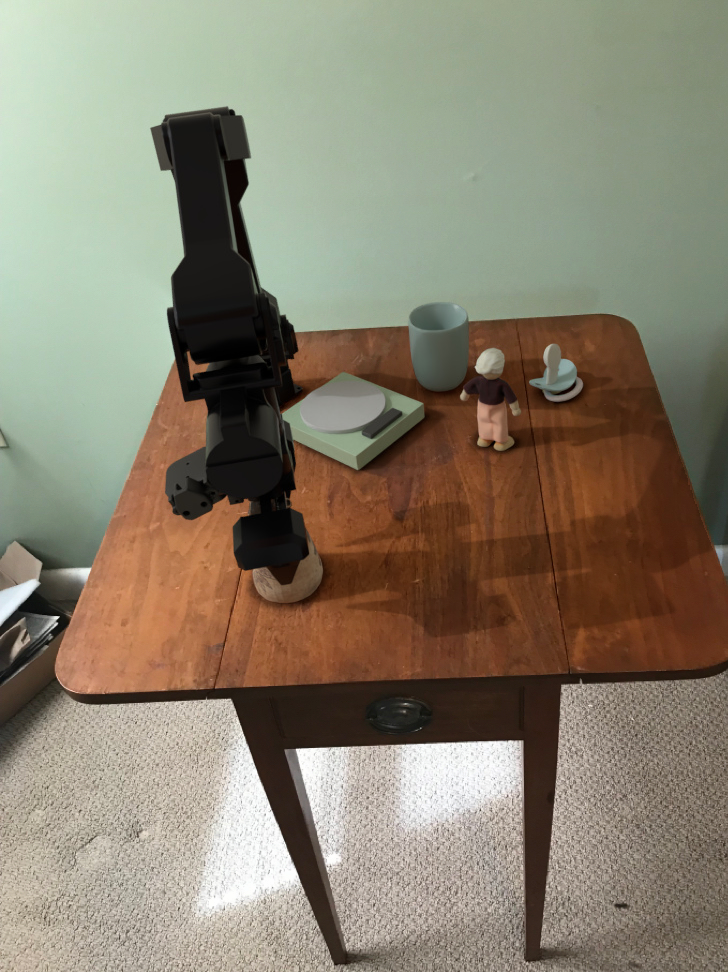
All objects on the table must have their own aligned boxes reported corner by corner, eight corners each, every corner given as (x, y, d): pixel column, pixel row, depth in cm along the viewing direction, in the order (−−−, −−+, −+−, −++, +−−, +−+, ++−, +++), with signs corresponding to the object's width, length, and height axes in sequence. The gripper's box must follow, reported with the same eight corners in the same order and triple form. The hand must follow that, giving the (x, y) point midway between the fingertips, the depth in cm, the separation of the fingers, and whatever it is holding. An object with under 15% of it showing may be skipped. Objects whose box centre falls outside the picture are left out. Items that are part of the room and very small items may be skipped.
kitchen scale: (278, 432, 99) (273, 414, 98) (345, 385, 106) (342, 367, 104) (358, 470, 93) (355, 452, 91) (424, 417, 99) (423, 399, 97)
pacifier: (592, 385, 102) (553, 370, 105) (598, 343, 97) (557, 329, 100) (561, 411, 98) (522, 395, 101) (566, 369, 94) (525, 353, 97)
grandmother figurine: (525, 436, 95) (528, 344, 86) (518, 455, 92) (520, 362, 83) (465, 428, 97) (462, 338, 88) (456, 446, 94) (452, 355, 86)
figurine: (290, 545, 84) (268, 459, 76) (338, 573, 81) (320, 486, 72) (242, 585, 80) (213, 499, 72) (289, 615, 77) (265, 529, 68)
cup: (471, 397, 102) (469, 329, 95) (412, 401, 102) (407, 333, 95) (468, 366, 107) (467, 299, 100) (413, 369, 108) (408, 303, 101)
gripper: (160, 384, 73) (203, 507, 84) (150, 510, 59) (202, 638, 70) (276, 364, 74) (304, 489, 84) (292, 484, 60) (323, 614, 71)
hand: (283, 552), depth 77 cm, fingers open, 9 cm apart
